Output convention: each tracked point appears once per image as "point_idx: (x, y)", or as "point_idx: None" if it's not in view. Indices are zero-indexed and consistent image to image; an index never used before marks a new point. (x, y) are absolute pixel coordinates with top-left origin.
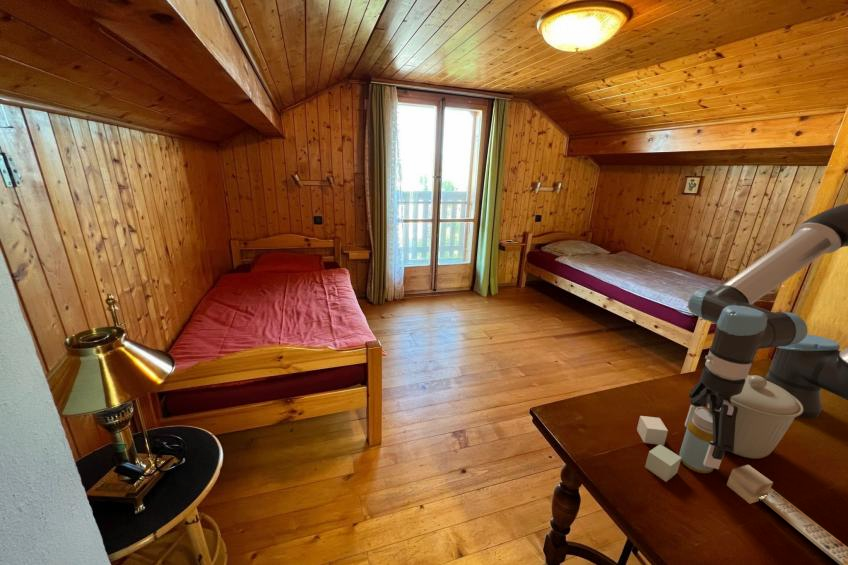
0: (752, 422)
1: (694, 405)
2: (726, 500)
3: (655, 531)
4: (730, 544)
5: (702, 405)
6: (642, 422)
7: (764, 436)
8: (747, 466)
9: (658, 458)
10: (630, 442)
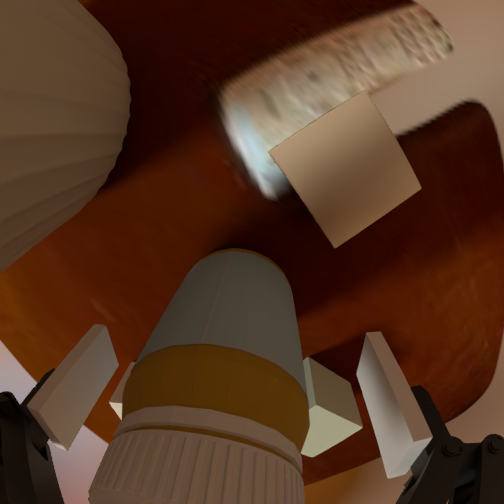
0: None
1: (47, 435)
2: (388, 249)
3: (460, 395)
4: (492, 286)
5: (25, 420)
6: None
7: (68, 40)
8: (287, 162)
9: (333, 443)
10: None
